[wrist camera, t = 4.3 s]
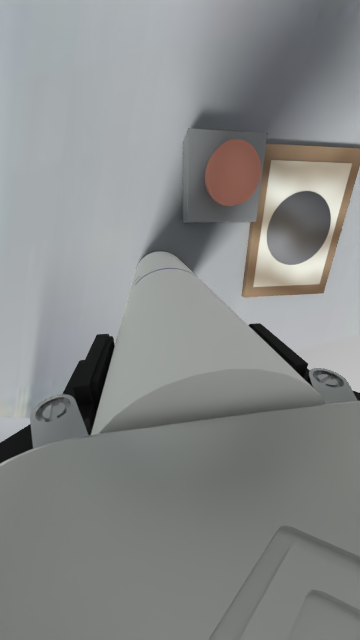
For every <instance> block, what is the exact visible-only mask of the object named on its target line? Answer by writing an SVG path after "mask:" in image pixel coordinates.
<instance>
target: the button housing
mask: <svg viewBox="0 0 360 640" xmlns="http://www.w3.org/2000/svg"><path fill="white" fill-rule="evenodd" d="M267 134H268V133H259V132H242V131H225V130H208V129H191V128H189V129H188V131H187V134H186V136H185V139H184V141H183V222H256V218H257V211H258V203H259V195H260V187H261V180H262V172H263V164H264V157H265V149H266V141H267ZM232 139H241V140H245V141H247V142H248V143H250V144H251V145H252V146H253V147H254V148H255V150H256V151H257V153H258V156H259V159H260V163H261V176H260V181H259V184H258V186H257V188H256V190H255V192H254V193H253V195H252V196H251V197H250V198H249V199H248V200H246V201H245V202H243V203H241V204H238V205H234V206H222V205H219V204H218V203H216V202H215V201H214V200H213V199H212V198H211V197H210V195H209V193H208V191H207V189H206V185H205V170H206V166H207V163H208V161H209V159H210V157H211V156H212V154H213V153H214V152H215V151H216V150H217V148H218V147H219V146H220V145H222V144H223V143H225V142H226V141H229V140H232Z"/></svg>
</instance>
